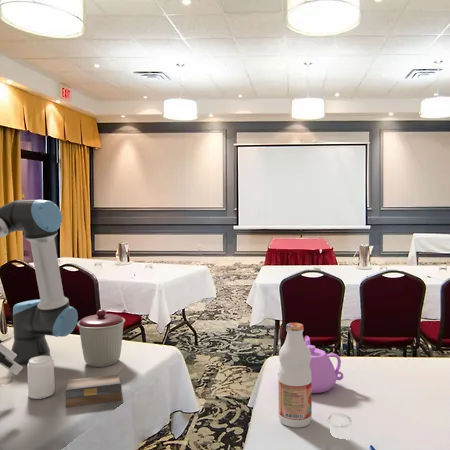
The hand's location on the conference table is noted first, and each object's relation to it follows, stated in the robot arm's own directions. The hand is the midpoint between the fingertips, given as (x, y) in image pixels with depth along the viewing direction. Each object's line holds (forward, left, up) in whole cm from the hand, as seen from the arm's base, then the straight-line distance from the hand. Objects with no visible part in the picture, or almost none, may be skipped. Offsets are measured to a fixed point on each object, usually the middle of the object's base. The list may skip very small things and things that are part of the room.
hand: (16, 364), depth 149 cm
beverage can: (-3, +7, -12) cm, 14 cm away
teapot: (+15, +95, -12) cm, 97 cm away
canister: (-28, +27, -12) cm, 40 cm away
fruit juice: (+38, +79, -12) cm, 89 cm away
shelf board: (+1, +23, -12) cm, 26 cm away
